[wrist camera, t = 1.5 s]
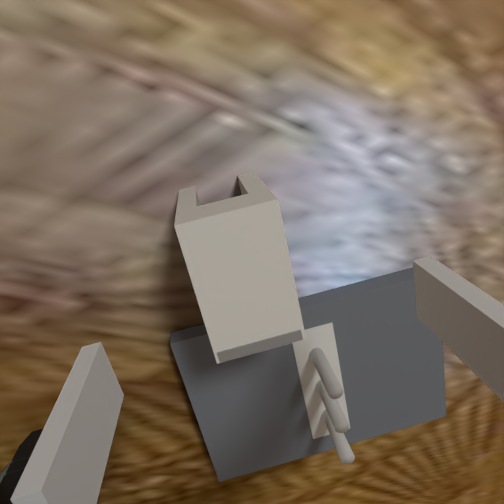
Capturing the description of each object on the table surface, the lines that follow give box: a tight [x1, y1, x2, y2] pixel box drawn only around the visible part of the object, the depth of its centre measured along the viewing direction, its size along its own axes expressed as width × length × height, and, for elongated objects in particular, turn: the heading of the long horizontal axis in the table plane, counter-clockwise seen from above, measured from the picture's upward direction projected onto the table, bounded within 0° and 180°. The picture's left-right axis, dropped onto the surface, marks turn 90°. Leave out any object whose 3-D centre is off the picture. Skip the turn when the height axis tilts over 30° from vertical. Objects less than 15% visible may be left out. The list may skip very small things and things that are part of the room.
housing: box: [174, 172, 306, 364], centre depth 24 cm, size 5×8×8 cm, turn 13°
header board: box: [170, 268, 446, 482], centre depth 30 cm, size 20×14×6 cm
